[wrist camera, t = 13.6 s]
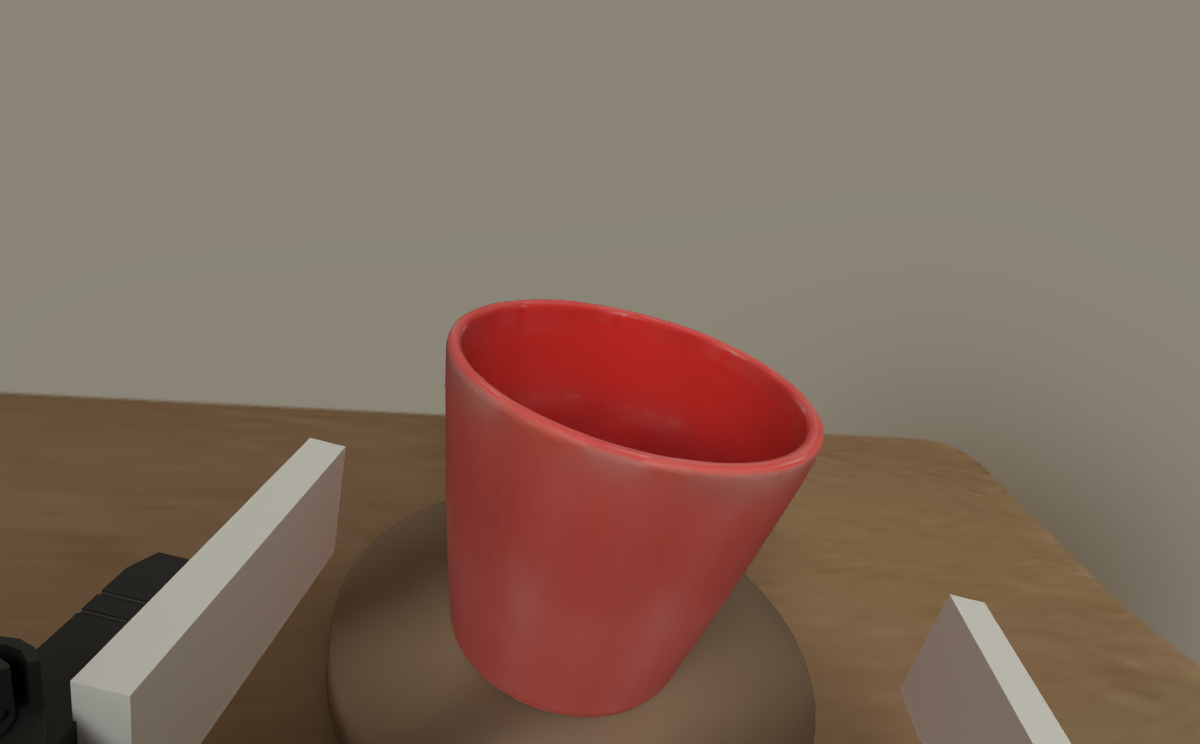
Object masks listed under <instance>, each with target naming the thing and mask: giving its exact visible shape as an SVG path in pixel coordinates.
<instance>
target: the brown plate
mask: <svg viewBox="0 0 1200 744" xmlns="http://www.w3.org/2000/svg"><path fill="white" fill-rule="evenodd" d="M327 692H328V705H329V709H330V713H331V718H332V722H333V726H334V730H335V734H336V736H337V739H338V741H339V743H340V744H813V740H814V734H815V701H814V695H813V689H812V683H811V679H810V676H809V673H808V669H807V666H806V663H805V660H804V657H803V655H802V653H801V651H800V649H799V647H798V645H797V642H796V640H795V638H794V636H793V634H792V633H791V631H790V630H789V628H788V626H787V625H786V623H785V622H784V620H783V618H782V617H781V615H780V614H779V613H778V611H777V610H776V609H775V608H774V606H773V605H772V604H771V602H770V601H769V600H768V599H767V597H766V596H765V595H764V594H763V593H762V592H761V591H760V590H759V589H758V588H757V587H756V585H755V584H754V583H753V582H752V581H751V580H750V579H749V578H748V577H747V576H746V575H744V574H743V576H742V577H741V579H740V580H739V582H738V583H737V585H736V586H735V588H734V589H733V591H732V592H731V594H730V595H729V597H728V598H727V600H726V601H725V603H724V604H723V606H722V607H721V608H720V610H719V611H718V613H717V614H716V616H715V617H714V619H713V620H712V621H711V623H710V624H709V626H708V627H707V628H706V630H705V631H704V633H703V634H702V636H701V637H700V638H699V640H698V641H697V642H696V644H695V645H694V647H693V648H692V649H691V651H690V652H689V653H688V655H687V656H686V658H685V659H684V660H683V662H682V663H681V665H680V666H679V667H678V669H677V670H676V672H675V673H674V675H673V676H672V678H671V679H670V680H669V681H668V683H667V684H666V685H665V686H664V687H663V689H662V690H661V691H660V692H659V693H658V694H656V695H655V696H653V697H652V698H650V699H649V700H648V701H646V702H644V703H642V704H640V705H639V706H637V707H635V708H632V709H630V710H628V711H625V712H621V713H618V714H614V715H609V716H599V717H574V716H565V715H559V714H554V713H551V712H547V711H543V710H540V709H537V708H534V707H532V706H529V705H527V704H524V703H522V702H520V701H518V700H516V699H514V698H512V697H511V696H509V695H507V694H506V693H504V692H502V691H501V690H499V689H497V688H496V687H495V686H493V685H492V684H491V683H489V682H488V681H487V680H486V679H485V678H484V677H483V676H482V675H481V674H480V673H478V671H477V670H476V669H475V668H474V667H473V666H472V664H471V663H470V662H469V661H468V659H467V658H466V656H465V655H464V653H463V652H462V650H461V648H460V646H459V644H458V642H457V640H456V637H455V634H454V630H453V625H452V620H451V610H450V595H449V579H448V558H447V518H446V501H445V502H441V503H439V504H436V505H434V506H431V507H429V508H426V509H424V510H422V511H419V512H417V513H416V514H414V515H412V516H410V517H408V518H406V519H405V520H403V521H401V522H399V523H398V524H397V525H395V526H394V527H392V528H391V529H390V530H388V531H387V532H386V533H384V534H383V535H382V536H380V537H379V538H378V539H377V540H376V541H375V542H374V543H373V544H372V545H371V546H370V547H369V548H368V549H367V550H366V551H365V552H364V554H363V555H362V556H361V558H360V559H359V560H358V562H357V563H356V564H355V565H354V567H353V568H352V570H351V571H350V573H349V575H348V577H347V579H346V581H345V583H344V585H343V587H342V589H341V591H340V594H339V598H338V601H337V604H336V607H335V610H334V615H333V623H332V632H331V640H330V649H329V658H328V667H327Z"/></svg>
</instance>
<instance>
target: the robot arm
mask: <svg viewBox="0 0 1200 744" xmlns="http://www.w3.org/2000/svg"><path fill="white" fill-rule="evenodd" d="M345 448H346V447H345V446H341V445H337V444H333V443H329V442H325V441H321V440H316V439H312V438H309V439H308V441H307V442H306V443H305V444H304V445H303V446H302V447H301V448H300V449H299V450H298V451H297V452H296V453H295V454H294V455H293V456H292V457H291V458H290V459H289V460H288V461H287V462H286V463H285V464H284V465H283V466H282V467H281V468H280V469H279V470H278V471H277V472H276V473H275V474H274V475H273V476H272V477H271V478H270V479H269V480H268V481H267V482H266V483H265V484H264V485H263V486H262V487H261V488H260V489H259V490H258V491H257V492H256V493H255V494H254V495H253V496H252V497H251V498H250V499H249V500H248V501H247V502H246V503H245V504H244V505H243V506H242V507H241V508H240V509H239V511H238V512H237V513H236V514H235V515H234V516H233V517H232V518H231V519H230V520H229V521H228V522H227V523H226V524H225V525H224V526H223V527H222V528H221V529H220V530H219V531H218V532H217V533H216V534H215V535H214V536H213V537H212V538H211V539H210V540H209V541H208V542H207V543H206V544H205V545H204V546H203V547H202V548H201V549H200V550H199V551H198V552H197V553H196V554H195V555H194V556H193V557H192V558H191V559H190V560H188V559H184V558H180V557H176V556H172V555H168V554H164V553H160V552H158V553H156V554H154V555H152V556H150V557H148V558H146V559H144V560H142V561H140V562H138V563H136V564H134V565H132V566H130V567H128V568H126V569H125V570H124V571H123V572H121V573H120V574H119V575H118V576H117V577H116V578H115V579H114V580H113V581H112V582H110V583H109V584H108V585H107V586H106V587H105V588H104V589H103V590H102V592H101V594H100V595H98V594H97V595H96V596H95V597H94V598H93V599H92V600H91V601H90V602H88V603H87V604H86V605H85V606H84V607H83V608H82V611H81V612H80V613H76V614H75V615H74V616H73V617H72V618H71V619H70V620H69V621H68V622H67V623H65V624H64V625H63V626H62V627H61V628H60V629H59V630H58V631H57V632H56V633H54V634H53V635H52V636H51V637H50V638H49V639H48V640H47V641H46V642H45V643H43V644H42V645H41V646H40V647H39V648H38V649H37V650H35V648H34V647H33V646H31V645H29V644H28V643H26V642H24V641H23V640H21V639H15V638H8V637H1V636H0V744H201V743H202V741H203V740H204V739H205V737H206V736H207V734H208V733H209V731H210V730H211V729H212V727H213V726H214V724H215V723H216V721H217V720H218V718H219V717H220V716H221V714H222V713H223V711H224V710H225V708H226V707H227V706H228V704H229V703H230V701H231V700H232V698H233V697H234V695H235V694H236V693H237V691H238V690H239V688H240V687H241V685H242V684H243V683H244V681H245V680H246V678H247V677H248V675H249V674H250V673H251V671H252V670H253V668H254V667H255V665H256V664H257V662H258V661H259V660H260V658H261V657H262V655H263V654H264V652H265V651H266V650H267V648H268V647H269V645H270V644H271V642H272V641H273V639H274V638H275V637H276V635H277V634H278V632H279V631H280V629H281V628H282V627H283V625H284V624H285V622H286V621H287V619H288V618H289V616H290V615H291V614H292V612H293V611H294V609H295V608H296V606H297V605H298V604H299V602H300V601H301V599H302V598H303V596H304V595H305V593H306V592H307V591H308V589H309V588H310V586H311V585H312V583H313V582H314V581H315V579H316V578H317V576H318V575H319V573H320V572H321V571H322V569H323V568H324V566H325V565H326V563H327V562H328V560H329V559H330V558H331V556H332V555H333V553H334V551H335V541H336V532H337V523H338V513H339V504H340V495H341V486H342V476H343V467H344V458H345ZM900 691H901V694H902V696H903V699H904V702H905V704H906V707H907V709H908V712H909V714H910V717H911V720H912V722H913V725H914V727H915V730H916V732H917V735H918V738H919V740H920V743H921V744H1071V743H1070V741H1069V739H1068V738H1067V736H1066V734H1065V733H1064V731H1063V730H1062V728H1061V726H1060V725H1059V723H1058V721H1057V720H1056V718H1055V717H1054V715H1053V713H1052V712H1051V710H1050V708H1049V707H1048V705H1047V704H1046V702H1045V700H1044V699H1043V697H1042V695H1041V694H1040V692H1039V691H1038V689H1037V687H1036V686H1035V684H1034V682H1033V681H1032V679H1031V678H1030V676H1029V674H1028V673H1027V671H1026V669H1025V668H1024V666H1023V665H1022V663H1021V661H1020V660H1019V658H1018V656H1017V655H1016V653H1015V652H1014V650H1013V648H1012V647H1011V645H1010V643H1009V642H1008V640H1007V639H1006V637H1005V635H1004V634H1003V632H1002V630H1001V629H1000V627H999V626H998V624H997V622H996V621H995V619H994V617H993V616H992V614H991V613H990V611H989V609H988V608H987V606H986V604H985V603H983V602H979V601H975V600H970V599H966V598H962V597H958V596H954V595H949V597H948V599H947V601H946V603H945V604H944V606H943V608H942V610H941V612H940V614H939V616H938V618H937V620H936V621H935V623H934V625H933V627H932V629H931V631H930V633H929V635H928V637H927V639H926V640H925V642H924V644H923V646H922V648H921V650H920V652H919V654H918V656H917V658H916V659H915V661H914V663H913V665H912V667H911V669H910V671H909V673H908V675H907V676H906V678H905V680H904V682H903V684H902V686H901V688H900Z"/></svg>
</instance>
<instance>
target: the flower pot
mask: <svg viewBox="0 0 1200 744" xmlns="http://www.w3.org/2000/svg"><path fill="white" fill-rule="evenodd" d="M445 389H446V518H447V558H448V579H449V595H450V610H451V620H452V625H453V630H454V634H455V637H456V640H457V642H458V644H459V646H460V648H461V650H462V652H463V653H464V655H465V656H466V658H467V659H468V661H469V662H470V663H471V664H472V666H473V667H474V668H475V669H476V670H477V671H478V673H480V674H481V675H482V676H483V677H484V678H485V679H486V680H487V681H488V682H489V683H491V684H492V685H493V686H495V687H496V688H497V689H499V690H501V691H502V692H504V693H506V694H507V695H509V696H511V697H512V698H514V699H516V700H518V701H520V702H522V703H524V704H527V705H529V706H532V707H534V708H537V709H540V710H543V711H547V712H551V713H554V714H559V715H565V716H574V717H599V716H609V715H614V714H618V713H621V712H625V711H628V710H630V709H632V708H635V707H637V706H639V705H640V704H642V703H644V702H646V701H648V700H649V699H650V698H652V697H653V696H655V695H656V694H658V693H659V692H660V691H661V690H662V689H663V687H664V686H665V685H666V684H667V683H668V681H669V680H670V679H671V678H672V676H673V675H674V673H675V672H676V670H677V669H678V667H679V666H680V665H681V663H682V662H683V660H684V659H685V658H686V656H687V655H688V653H689V652H690V651H691V649H692V648H693V647H694V645H695V644H696V642H697V641H698V640H699V638H700V637H701V636H702V634H703V633H704V631H705V630H706V628H707V627H708V626H709V624H710V623H711V621H712V620H713V619H714V617H715V616H716V614H717V613H718V611H719V610H720V608H721V607H722V606H723V604H724V603H725V601H726V600H727V598H728V597H729V595H730V594H731V592H732V591H733V589H734V588H735V586H736V585H737V583H738V582H739V580H740V579H741V577H742V576H743V574H744V573H745V571H746V570H747V568H748V566H749V565H750V563H751V562H752V560H753V559H754V557H755V556H756V554H757V553H758V551H759V550H760V548H761V546H762V545H763V543H764V542H765V540H766V539H767V537H768V536H769V534H770V533H771V531H772V530H773V528H774V527H775V525H776V524H777V522H778V521H779V519H780V517H781V516H782V514H783V513H784V511H785V510H786V508H787V506H788V505H789V503H790V502H791V500H792V499H793V497H794V495H795V494H796V492H797V491H798V489H799V487H800V486H801V484H802V482H803V481H804V479H805V477H806V476H807V474H808V472H809V471H810V469H811V467H812V466H813V464H814V462H815V460H816V458H817V456H818V455H819V453H820V451H821V448H822V445H823V439H824V432H823V425H822V423H821V421H820V418H819V416H818V414H817V412H816V411H815V409H814V408H813V406H812V405H811V404H810V402H809V401H808V400H807V399H806V397H805V396H804V395H803V394H802V393H801V392H800V391H799V390H797V389H796V388H795V387H794V386H793V385H792V384H791V383H790V382H788V381H787V380H786V379H785V378H783V377H782V376H781V375H779V374H778V373H776V372H775V371H774V370H772V369H771V368H769V367H768V366H766V365H765V364H763V363H762V362H760V361H758V360H757V359H755V358H753V357H752V356H750V355H748V354H746V353H744V352H742V351H740V350H738V349H736V348H734V347H732V346H730V345H728V344H726V343H724V342H722V341H719V340H717V339H715V338H712V337H710V336H708V335H705V334H703V333H701V332H698V331H696V330H693V329H690V328H687V327H684V326H681V325H678V324H674V323H671V322H668V321H665V320H661V319H658V318H655V317H651V316H647V315H643V314H639V313H635V312H631V311H627V310H622V309H617V308H612V307H607V306H602V305H596V304H589V303H582V302H576V301H565V300H548V299H543V300H540V299H537V300H518V301H506V302H499V303H494V304H490V305H486V306H483V307H480V308H478V309H475V310H473V311H471V312H469V313H467V314H465V315H464V316H462V317H461V318H460V319H458V321H457V322H456V323H455V324H454V325H453V327H452V329H451V330H450V333H449V335H448V338H447V343H446V381H445Z"/></svg>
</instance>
